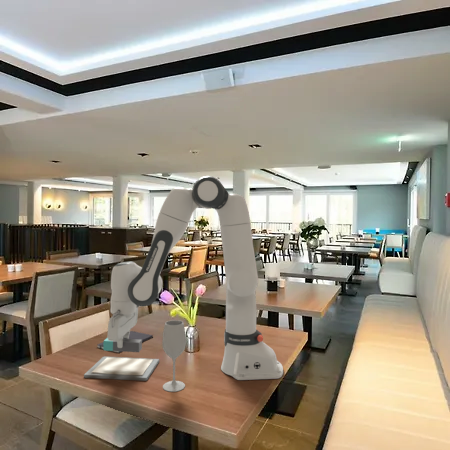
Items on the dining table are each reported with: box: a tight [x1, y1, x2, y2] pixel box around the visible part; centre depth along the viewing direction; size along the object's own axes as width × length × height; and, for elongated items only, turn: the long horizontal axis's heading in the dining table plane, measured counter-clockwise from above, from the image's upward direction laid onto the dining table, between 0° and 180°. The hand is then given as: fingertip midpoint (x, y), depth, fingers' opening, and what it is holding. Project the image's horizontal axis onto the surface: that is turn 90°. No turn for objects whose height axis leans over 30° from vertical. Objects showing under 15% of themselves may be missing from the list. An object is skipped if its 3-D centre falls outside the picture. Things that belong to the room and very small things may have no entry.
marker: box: [102, 337, 143, 353], centre depth 132 cm, size 13×3×3 cm, turn 85°
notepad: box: [83, 356, 160, 382], centre depth 132 cm, size 22×16×1 cm
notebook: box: [97, 330, 153, 354], centre depth 160 cm, size 13×2×21 cm
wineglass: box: [161, 319, 187, 393], centre depth 119 cm, size 8×8×21 cm
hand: (123, 344), depth 132 cm, fingers closed on marker, 3 cm apart
